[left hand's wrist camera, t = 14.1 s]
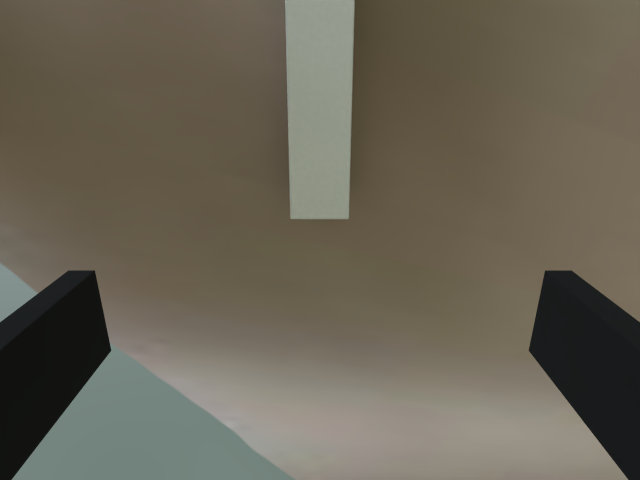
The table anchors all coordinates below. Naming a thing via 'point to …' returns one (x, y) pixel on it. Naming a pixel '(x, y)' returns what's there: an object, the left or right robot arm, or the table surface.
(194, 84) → the table surface
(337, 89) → the beam
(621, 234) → the table surface
